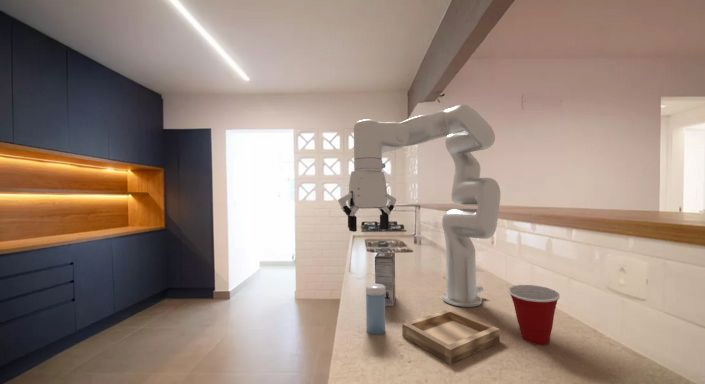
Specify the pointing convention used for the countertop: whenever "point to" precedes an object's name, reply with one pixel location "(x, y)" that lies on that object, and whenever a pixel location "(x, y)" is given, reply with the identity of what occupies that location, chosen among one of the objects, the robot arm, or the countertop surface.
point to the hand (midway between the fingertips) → (368, 230)
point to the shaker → (375, 309)
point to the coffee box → (386, 275)
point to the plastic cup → (534, 311)
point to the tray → (450, 335)
